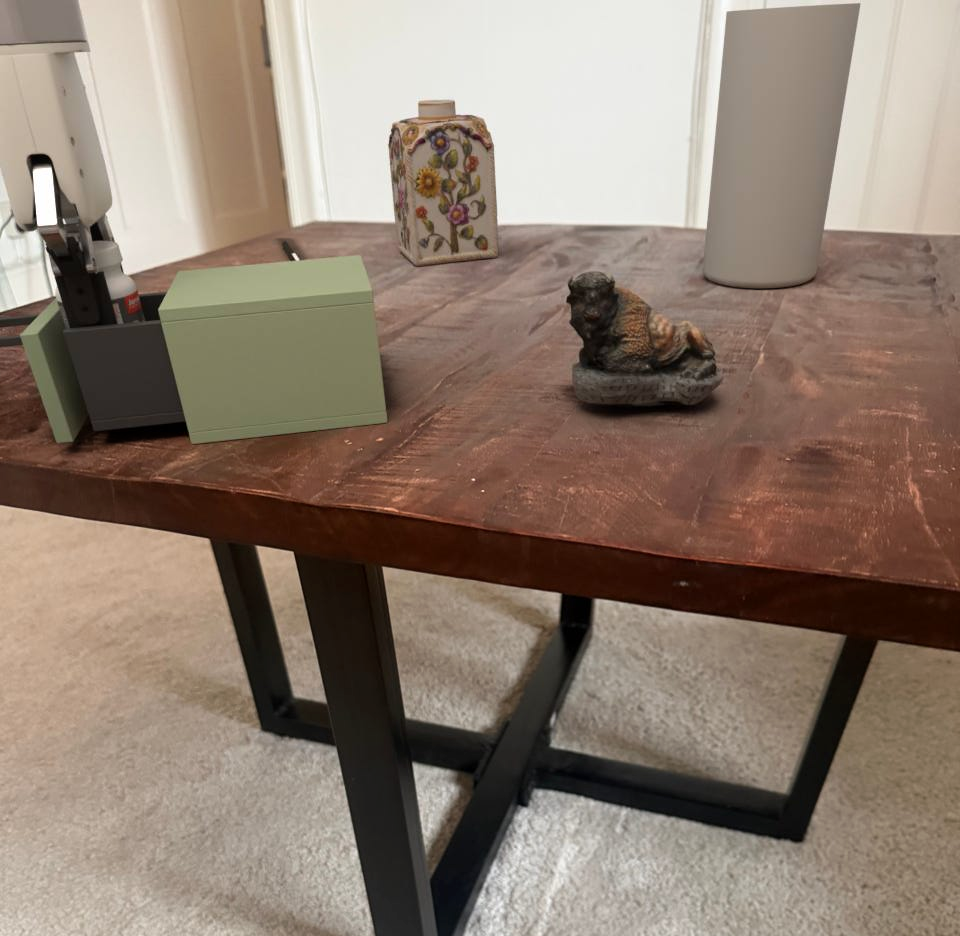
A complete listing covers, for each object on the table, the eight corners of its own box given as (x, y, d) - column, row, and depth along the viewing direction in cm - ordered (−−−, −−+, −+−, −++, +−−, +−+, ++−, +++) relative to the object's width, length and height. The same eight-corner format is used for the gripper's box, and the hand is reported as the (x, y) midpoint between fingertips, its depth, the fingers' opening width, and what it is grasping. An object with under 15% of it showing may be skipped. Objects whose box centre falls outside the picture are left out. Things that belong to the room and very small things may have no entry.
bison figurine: (703, 385, 70) (716, 252, 65) (734, 415, 65) (752, 272, 59) (557, 398, 70) (558, 264, 64) (576, 430, 64) (578, 286, 58)
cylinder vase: (736, 261, 107) (765, 10, 93) (835, 272, 99) (882, 2, 85) (681, 281, 100) (702, 12, 85) (782, 295, 92) (824, 4, 78)
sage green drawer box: (191, 444, 65) (157, 309, 60) (205, 390, 76) (177, 270, 70) (387, 422, 67) (372, 289, 61) (374, 372, 77) (361, 254, 72)
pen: (297, 270, 114) (295, 261, 113) (281, 245, 129) (279, 237, 129) (303, 270, 114) (302, 260, 114) (287, 245, 129) (285, 237, 129)
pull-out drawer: (-25, 452, 63) (-69, 343, 59) (16, 400, 73) (-19, 302, 68) (243, 423, 66) (220, 315, 61) (250, 376, 75) (230, 280, 71)
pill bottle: (165, 386, 67) (131, 248, 61) (88, 401, 65) (45, 259, 59) (152, 367, 71) (119, 236, 66) (79, 380, 69) (38, 245, 64)
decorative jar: (396, 251, 122) (382, 101, 112) (476, 242, 124) (469, 94, 114) (414, 268, 113) (399, 105, 102) (500, 258, 115) (494, 98, 105)
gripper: (-3, 32, 62) (75, 298, 72) (-90, 28, 48) (22, 359, 58) (106, 27, 63) (168, 290, 73) (53, 21, 49) (138, 348, 59)
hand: (103, 318), depth 65 cm, fingers closed on pill bottle, 5 cm apart
